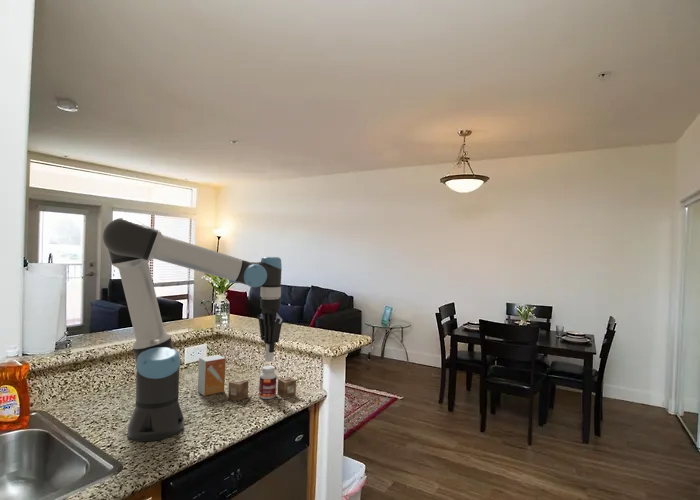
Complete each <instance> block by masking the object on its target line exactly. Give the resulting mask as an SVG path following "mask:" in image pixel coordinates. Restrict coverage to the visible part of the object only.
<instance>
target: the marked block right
mask: <svg viewBox="0 0 700 500" xmlns="http://www.w3.org/2000/svg"><path fill="white" fill-rule="evenodd" d="M277 395H278V396H279V397H280V398H282V397H283V398H282V399H284V398H285V399H289V398H293V397H296V396H297V379H296V378H295V379H294V378H293V377H291V376H286V377H281V378H278V379H277ZM288 397H289V398H288Z"/></svg>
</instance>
